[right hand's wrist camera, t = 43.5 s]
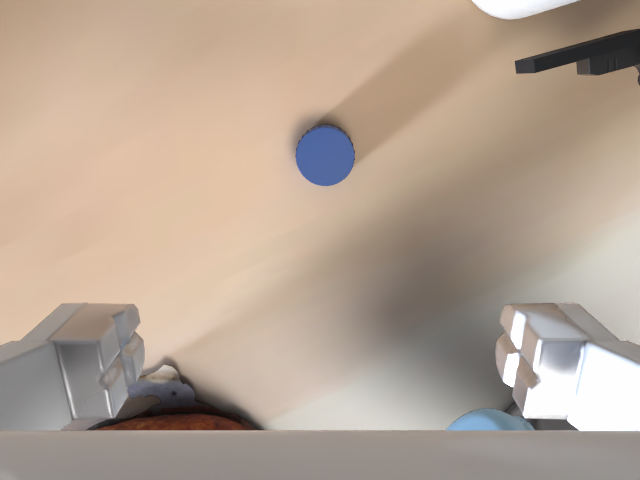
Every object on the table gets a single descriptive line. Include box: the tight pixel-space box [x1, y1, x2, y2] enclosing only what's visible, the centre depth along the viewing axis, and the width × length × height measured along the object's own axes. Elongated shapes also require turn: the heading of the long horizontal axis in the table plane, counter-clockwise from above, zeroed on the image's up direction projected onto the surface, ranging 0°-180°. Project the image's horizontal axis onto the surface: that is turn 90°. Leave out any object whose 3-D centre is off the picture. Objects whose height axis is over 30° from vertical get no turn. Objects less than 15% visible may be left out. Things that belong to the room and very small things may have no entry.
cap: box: [296, 124, 355, 186], centre depth 35 cm, size 4×4×2 cm
